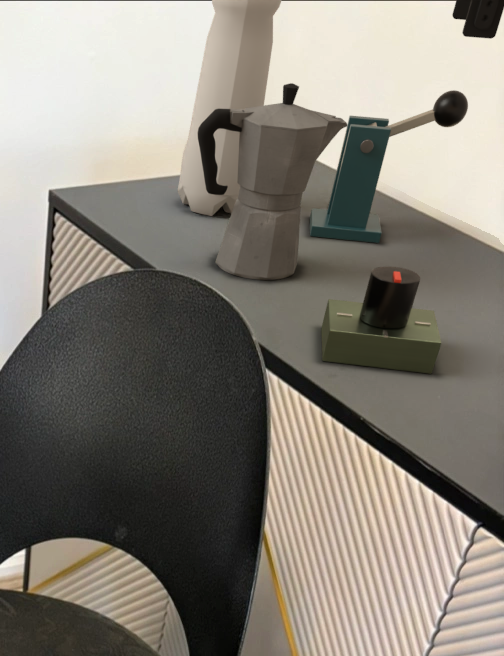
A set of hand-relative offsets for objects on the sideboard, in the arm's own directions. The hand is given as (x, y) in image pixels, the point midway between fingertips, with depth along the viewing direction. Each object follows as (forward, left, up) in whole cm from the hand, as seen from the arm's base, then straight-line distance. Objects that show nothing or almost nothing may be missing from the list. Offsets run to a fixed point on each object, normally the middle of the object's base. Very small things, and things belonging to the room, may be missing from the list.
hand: (472, 27), depth 117 cm
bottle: (+24, -6, -22) cm, 33 cm away
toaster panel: (+6, +34, -22) cm, 41 cm away
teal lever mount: (+8, -2, -22) cm, 23 cm away
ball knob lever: (+3, -2, -11) cm, 12 cm away
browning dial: (+6, +34, -19) cm, 39 cm away
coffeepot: (+19, +14, -22) cm, 32 cm away
